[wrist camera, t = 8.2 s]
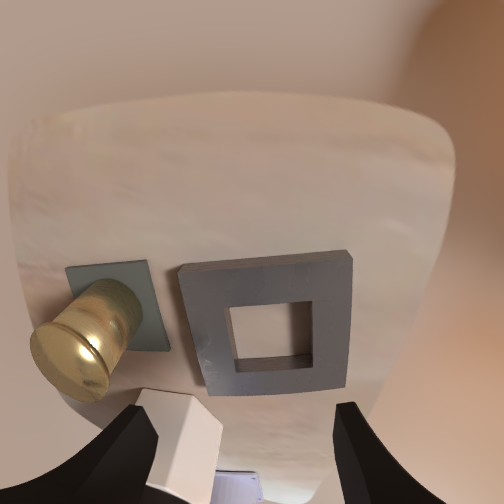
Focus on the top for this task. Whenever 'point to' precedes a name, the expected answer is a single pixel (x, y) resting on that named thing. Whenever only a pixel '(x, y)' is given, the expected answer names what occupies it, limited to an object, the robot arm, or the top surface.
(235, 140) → the top surface
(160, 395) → the jar
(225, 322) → the housing
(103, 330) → the gold rounded piece
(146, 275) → the mat
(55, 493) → the robot arm
